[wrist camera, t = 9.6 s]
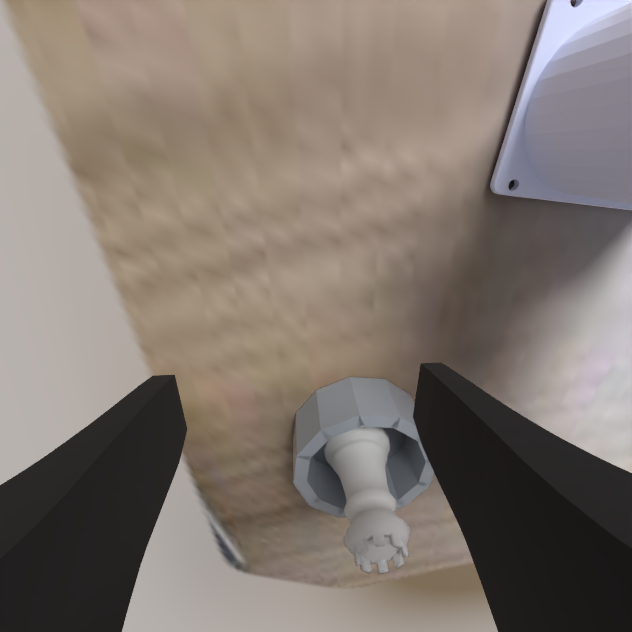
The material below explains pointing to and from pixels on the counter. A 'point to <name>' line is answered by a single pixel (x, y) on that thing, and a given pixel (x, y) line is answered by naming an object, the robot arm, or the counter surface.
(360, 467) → the rook chess piece
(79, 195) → the counter surface
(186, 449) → the counter surface
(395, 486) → the grey faceted bowl
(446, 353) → the counter surface
